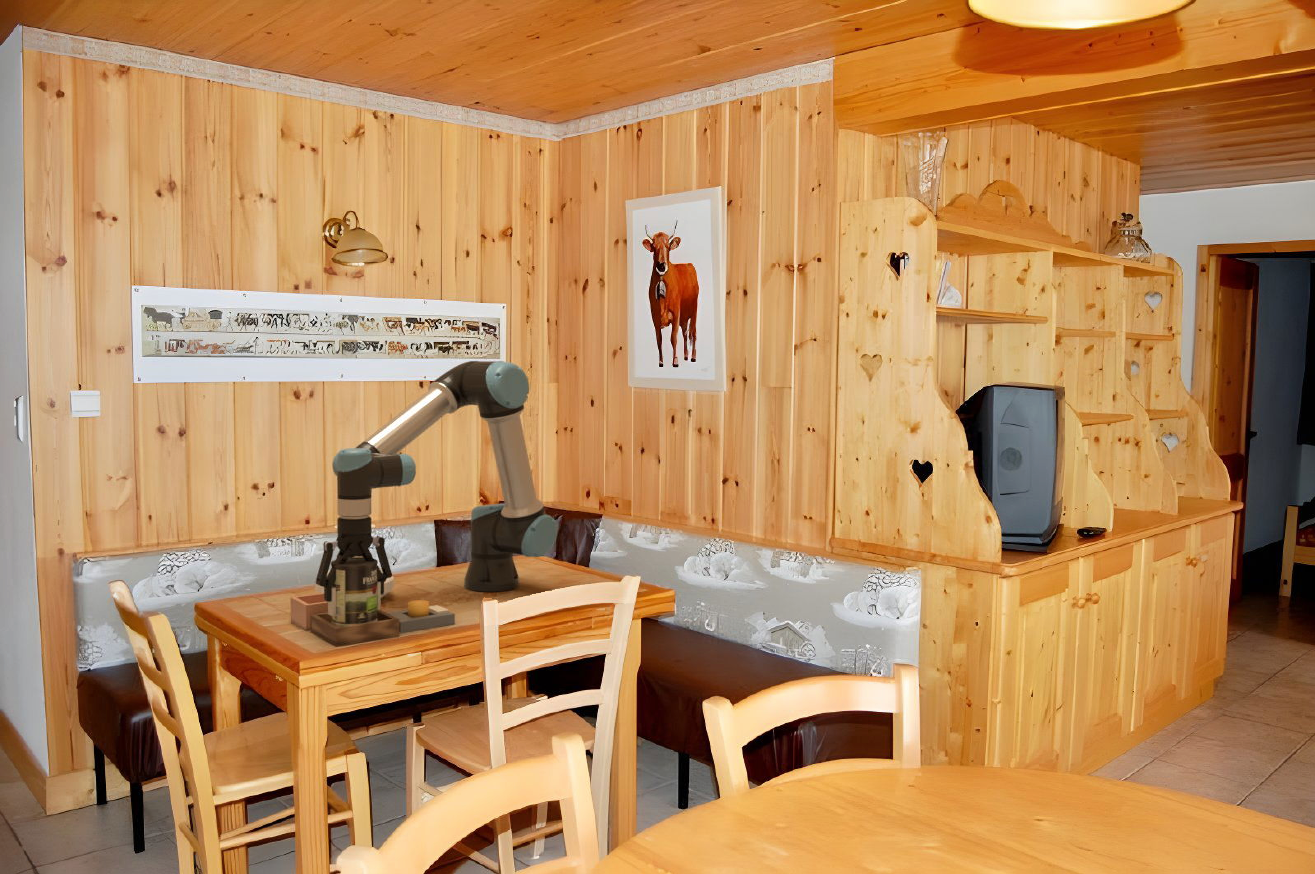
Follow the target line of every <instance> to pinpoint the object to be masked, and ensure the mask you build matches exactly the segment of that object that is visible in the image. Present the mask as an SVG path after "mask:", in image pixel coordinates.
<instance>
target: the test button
mask: <svg viewBox="0 0 1315 874" xmlns="http://www.w3.org/2000/svg"><path fill="white" fill-rule="evenodd" d="M429 606H430V601H429V600H423V599H422V600H421V599H419V600H417V599H416V600H410V601H408V602H407V610H408V616H409V617H411V618H417V617H423V616H429Z"/></svg>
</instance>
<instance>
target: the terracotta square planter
mask: <svg viewBox="0 0 1315 874" xmlns="http://www.w3.org/2000/svg"><path fill="white" fill-rule="evenodd" d="M327 612H328V602H327V601H325V599H324V593H318V592H317V593H312V594H303V595H299V596H291V597H290V622H291V623H292V624H294V625H295V626H297V627H298V628H301V629H302V630H304V631H307V632H308V631H311V619H310V615H313V614H320V613H327Z"/></svg>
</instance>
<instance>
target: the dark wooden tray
mask: <svg viewBox="0 0 1315 874" xmlns="http://www.w3.org/2000/svg"><path fill="white" fill-rule="evenodd" d="M387 613H388V612H385V611H382V610H377V621H376V622H369V623H363V624H356V625H350V626H343V627H342V626H336V625H334V624H332V616H331V615H329V614H328V612H327V613H320V614H313V615H310V619H311V630H310V633H312V634H313V635H315V636H317V637H318V638H320V639H322V640H324V641H325V642H327V643H329V644H330V645H333V646H334V647H341V646H348V645H354V644H361V643H366V642H372V641H378V640H384V639H390V638H392V639H393V638H397V637H400V632H399V619H398V618H396V617H394V616H392V615H389V614H387Z"/></svg>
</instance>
